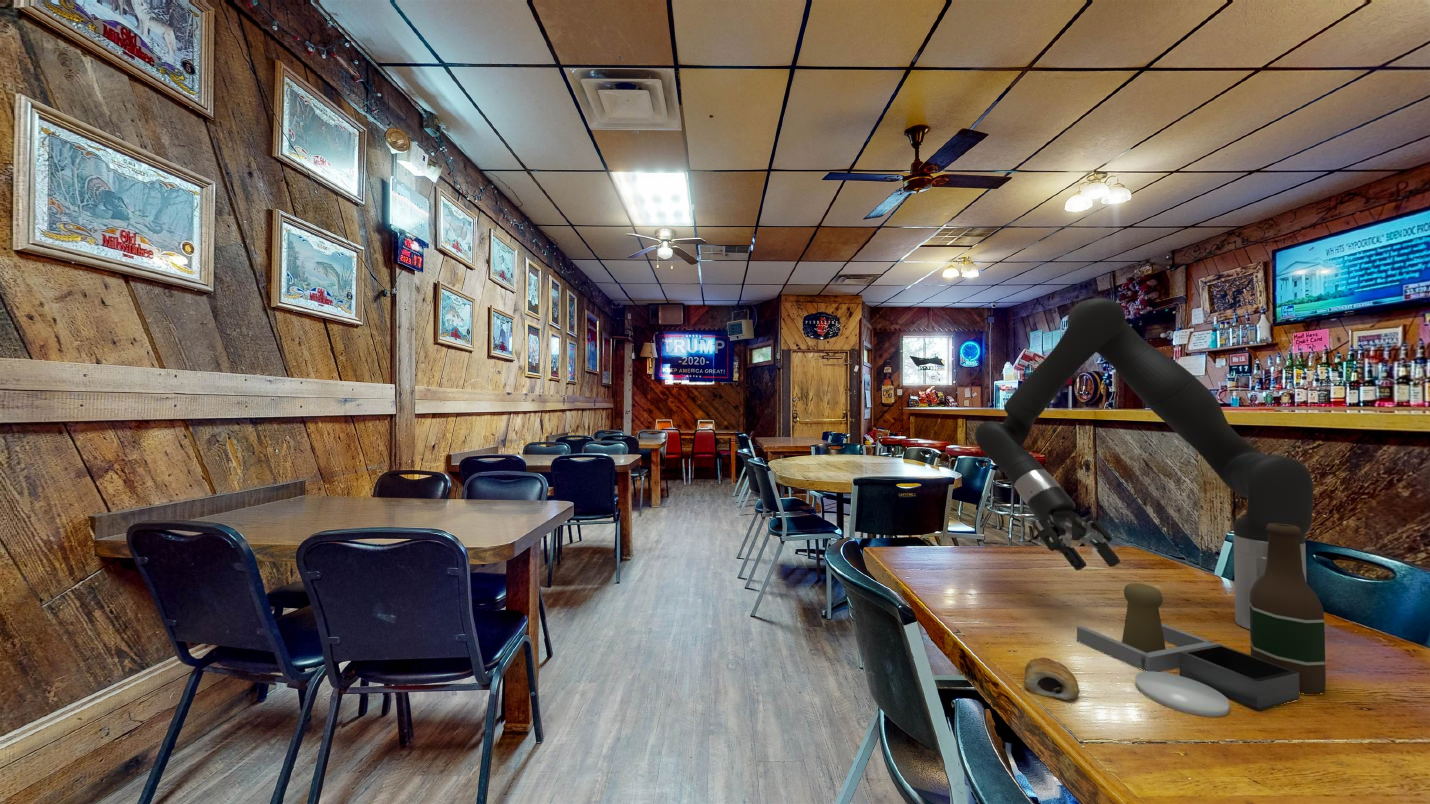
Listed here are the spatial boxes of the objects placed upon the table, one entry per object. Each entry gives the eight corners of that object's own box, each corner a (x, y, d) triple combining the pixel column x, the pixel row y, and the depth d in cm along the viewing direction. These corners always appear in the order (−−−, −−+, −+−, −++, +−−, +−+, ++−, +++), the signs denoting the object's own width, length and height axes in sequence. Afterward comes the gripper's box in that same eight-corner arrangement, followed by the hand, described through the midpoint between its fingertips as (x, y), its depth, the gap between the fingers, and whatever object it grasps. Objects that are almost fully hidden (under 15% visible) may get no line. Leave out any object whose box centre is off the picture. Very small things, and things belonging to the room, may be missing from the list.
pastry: (1025, 666, 82) (1025, 642, 82) (1075, 678, 78) (1075, 653, 78) (1024, 693, 74) (1024, 667, 74) (1080, 708, 70) (1080, 680, 70)
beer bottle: (1317, 702, 71) (1313, 533, 72) (1241, 676, 78) (1238, 522, 79) (1334, 688, 75) (1330, 527, 76) (1260, 665, 82) (1257, 517, 82)
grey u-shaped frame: (1142, 629, 95) (1142, 616, 95) (1219, 659, 84) (1219, 644, 84) (1076, 640, 91) (1076, 626, 91) (1149, 673, 79) (1149, 657, 79)
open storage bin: (1219, 669, 81) (1219, 644, 81) (1299, 700, 72) (1299, 672, 72) (1179, 677, 78) (1179, 651, 78) (1257, 711, 69) (1257, 682, 69)
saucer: (1165, 673, 79) (1165, 667, 79) (1247, 709, 70) (1247, 702, 70) (1118, 683, 76) (1118, 676, 76) (1198, 722, 67) (1197, 714, 67)
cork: (1175, 659, 84) (1174, 592, 84) (1134, 655, 85) (1133, 590, 85) (1152, 642, 90) (1151, 581, 90) (1113, 639, 91) (1113, 578, 91)
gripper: (1028, 486, 102) (1084, 559, 91) (1081, 483, 106) (1141, 553, 95) (1006, 507, 107) (1057, 579, 96) (1057, 504, 111) (1112, 573, 100)
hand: (1099, 566), depth 95 cm, fingers open, 8 cm apart
